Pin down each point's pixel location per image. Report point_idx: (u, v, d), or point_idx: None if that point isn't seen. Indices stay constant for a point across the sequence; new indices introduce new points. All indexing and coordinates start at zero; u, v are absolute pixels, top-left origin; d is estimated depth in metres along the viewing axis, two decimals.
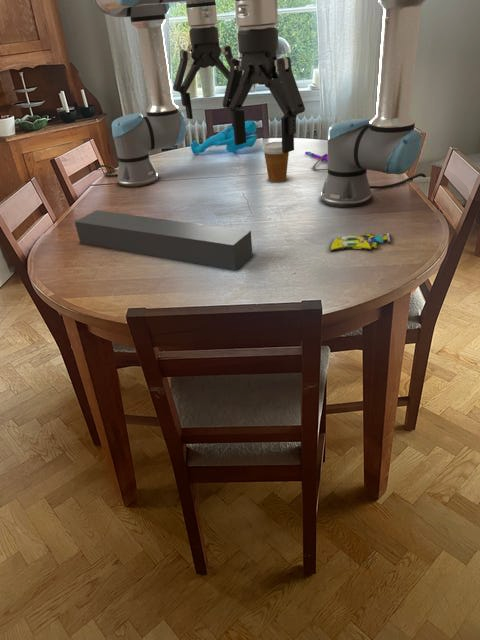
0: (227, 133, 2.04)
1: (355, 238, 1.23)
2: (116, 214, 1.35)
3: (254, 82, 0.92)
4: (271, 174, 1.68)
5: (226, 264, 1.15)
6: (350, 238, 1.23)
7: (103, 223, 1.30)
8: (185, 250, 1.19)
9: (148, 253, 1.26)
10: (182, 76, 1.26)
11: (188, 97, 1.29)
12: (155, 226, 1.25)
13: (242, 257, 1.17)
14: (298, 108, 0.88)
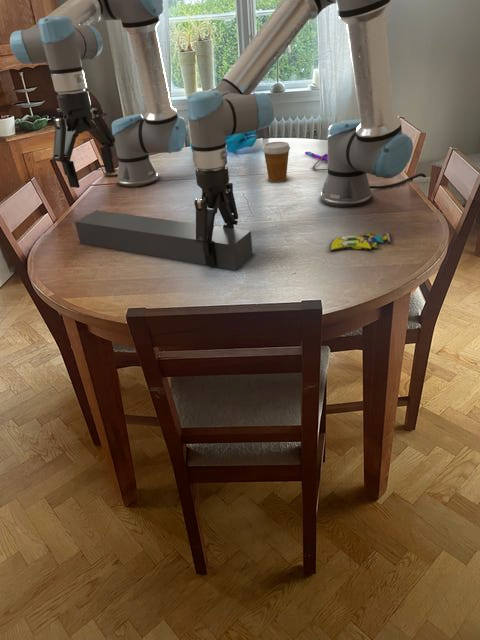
0: None
1: (355, 238, 1.23)
2: (116, 214, 1.35)
3: (218, 206, 1.13)
4: (271, 174, 1.68)
5: (226, 264, 1.15)
6: (350, 238, 1.23)
7: (103, 223, 1.30)
8: (185, 250, 1.19)
9: (148, 253, 1.26)
10: (64, 145, 1.16)
11: (72, 165, 1.19)
12: (155, 226, 1.25)
13: (242, 257, 1.17)
14: None
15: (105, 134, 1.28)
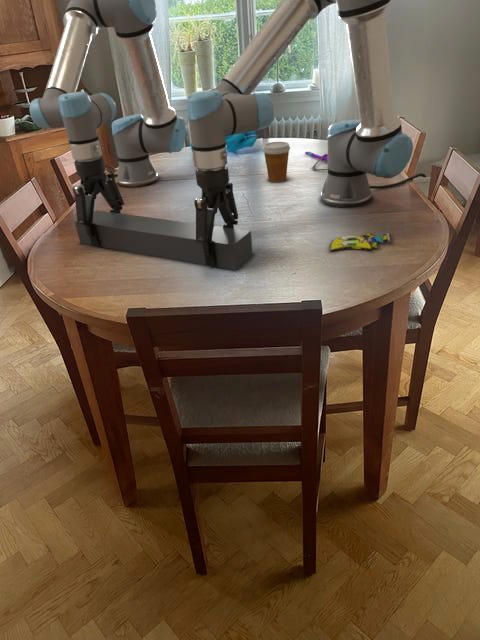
0: None
1: (355, 238, 1.23)
2: (116, 214, 1.35)
3: (218, 206, 1.13)
4: (271, 174, 1.68)
5: (226, 264, 1.15)
6: (350, 238, 1.23)
7: (103, 223, 1.30)
8: (185, 250, 1.19)
9: (148, 253, 1.26)
10: (85, 210, 1.26)
11: (94, 227, 1.30)
12: (155, 226, 1.25)
13: (242, 257, 1.17)
14: None
15: (115, 197, 1.36)
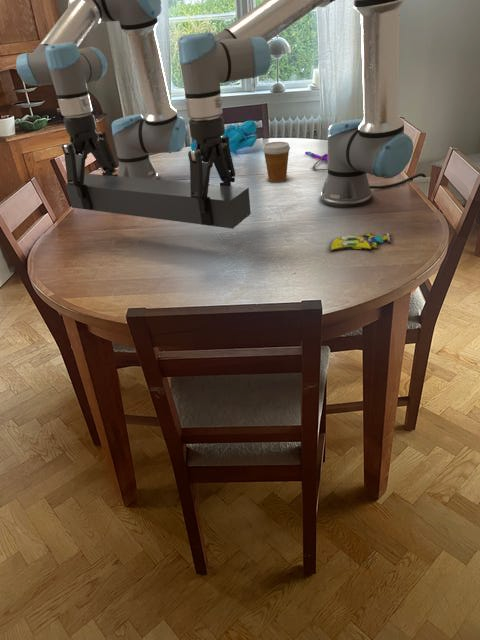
0: (227, 133, 2.04)
1: (355, 238, 1.23)
2: (108, 176, 1.30)
3: (213, 160, 1.07)
4: (271, 174, 1.68)
5: (222, 222, 1.10)
6: (350, 238, 1.23)
7: (95, 184, 1.25)
8: (180, 209, 1.14)
9: (142, 214, 1.21)
10: (75, 169, 1.20)
11: (86, 189, 1.24)
12: (149, 186, 1.20)
13: (240, 215, 1.11)
14: None
15: (107, 158, 1.30)
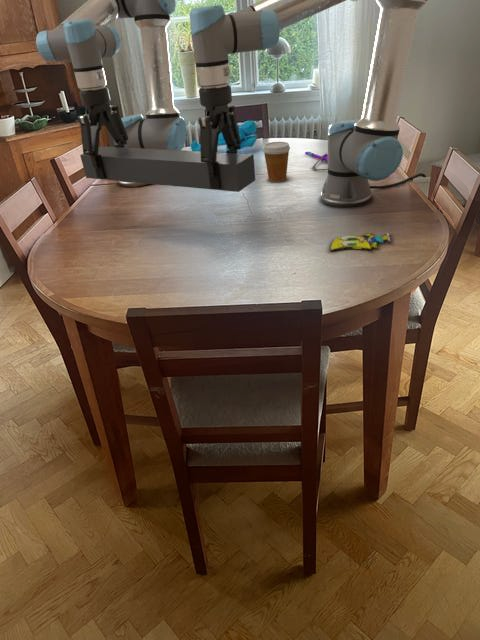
0: None
1: (355, 238, 1.23)
2: (121, 148, 1.38)
3: (221, 127, 1.15)
4: (271, 174, 1.68)
5: (229, 186, 1.18)
6: (350, 238, 1.23)
7: (109, 154, 1.32)
8: (189, 175, 1.21)
9: (153, 182, 1.28)
10: (90, 139, 1.28)
11: (100, 158, 1.32)
12: (160, 154, 1.28)
13: (245, 180, 1.19)
14: None
15: (120, 131, 1.38)
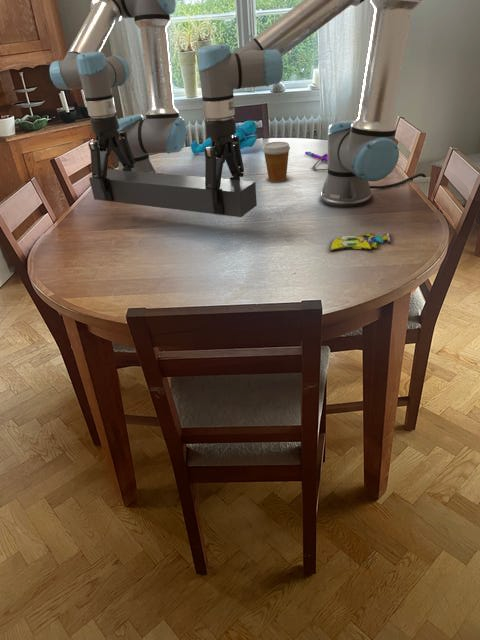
0: None
1: (355, 238, 1.23)
2: (128, 171, 1.44)
3: (225, 156, 1.21)
4: (271, 174, 1.68)
5: (232, 212, 1.24)
6: (350, 238, 1.23)
7: (117, 178, 1.39)
8: (194, 200, 1.28)
9: (159, 205, 1.34)
10: (100, 164, 1.34)
11: (108, 182, 1.38)
12: (166, 179, 1.34)
13: (247, 206, 1.25)
14: None
15: (127, 156, 1.45)
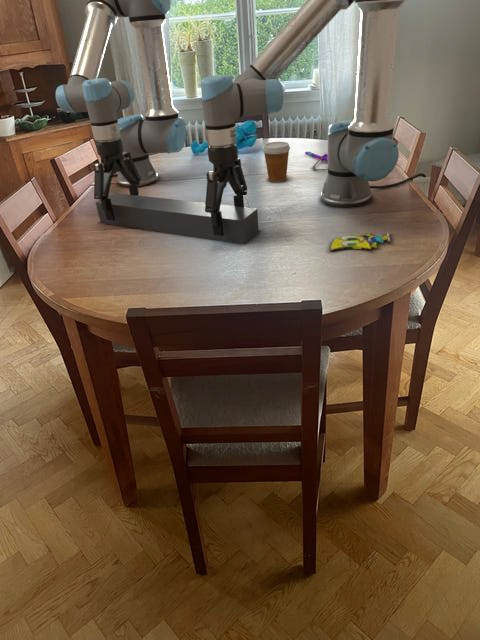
0: None
1: (355, 238, 1.23)
2: (133, 196, 1.48)
3: (227, 181, 1.24)
4: (271, 174, 1.68)
5: (235, 238, 1.28)
6: (350, 238, 1.23)
7: (122, 203, 1.43)
8: (198, 226, 1.32)
9: (163, 230, 1.38)
10: (102, 185, 1.37)
11: (109, 202, 1.40)
12: (170, 205, 1.38)
13: (249, 233, 1.29)
14: None
15: (133, 174, 1.48)
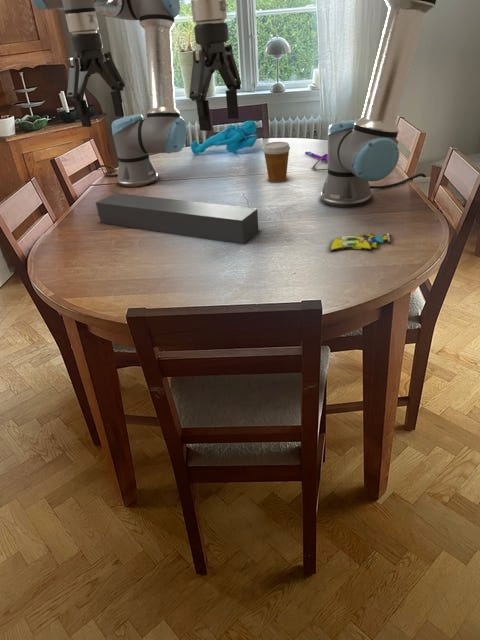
0: (227, 133, 2.04)
1: (355, 238, 1.23)
2: (133, 196, 1.48)
3: (217, 68, 1.10)
4: (271, 174, 1.68)
5: (235, 238, 1.28)
6: (350, 238, 1.23)
7: (122, 203, 1.43)
8: (198, 226, 1.32)
9: (163, 230, 1.38)
10: (77, 83, 1.22)
11: (85, 104, 1.25)
12: (170, 205, 1.38)
13: (249, 233, 1.29)
14: None
15: (115, 78, 1.34)
